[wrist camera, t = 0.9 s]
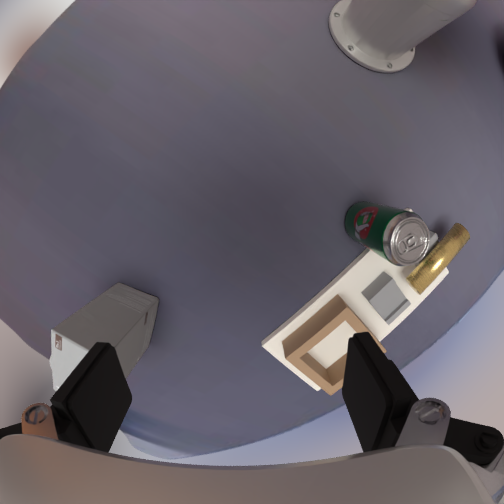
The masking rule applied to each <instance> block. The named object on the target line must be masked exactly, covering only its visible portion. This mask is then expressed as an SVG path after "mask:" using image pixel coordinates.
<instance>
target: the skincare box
mask: <svg viewBox="0 0 504 504" xmlns="http://www.w3.org/2000/svg"><path fill="white" fill-rule="evenodd" d="M158 303H159V299H158V298H157V297H154V296H152V295H149V294H146V293H144V292H141V291H139V290H136V289H134V288H131V287H129V286H127V285H124V284H122V283H117V284H115V285H114V286H112V287H111V288H109V289H108V290H107V291H105V292H104V293H102V294H101V295H99V296H98V297H97V298H95V299H94V300H92V301H91V302H89V303H88V304H87V305H85V306H84V307H82V308H81V309H80V310H78V311H77V312H75V313H74V314H72V315H71V316H70V317H68V318H67V319H65V320H64V321H63V322H61V323H60V324H58V325H57V326H56V327H54V328H53V329H52V330H51V349H52V355H51V357H50V366H51V368H52V375H53V388H54V390H56V391H57V390H58V389H59V388H60V386H61V385H62V384H63V382H64V381H65V380H66V379H67V377H68V376H69V375H70V374H71V372H72V371H73V370H74V369H75V367H76V366H77V365H78V364H79V362H80V361H81V360H82V359H83V358H84V356H85V355H86V354H87V353H88V351H89V350H90V349H91V348H92V347H93V345H94V344H95V343H96V342H107V343H110V344H111V345H112V346H113V347H114V348H115V349H116V352H117V355H118V359H119V361H120V364H121V367H122V370H123V373H124V376H125V379H126V378H127V377H128V375H129V374H130V373H131V371H132V370H133V368H134V367H135V365H136V364H137V362H138V361H139V360H140V358H141V357H142V355H143V354H144V352H145V351H146V350H147V348H148V347H149V343H150V339H151V336H152V331H153V327H154V323H155V318H156V313H157V308H158Z"/></svg>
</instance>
